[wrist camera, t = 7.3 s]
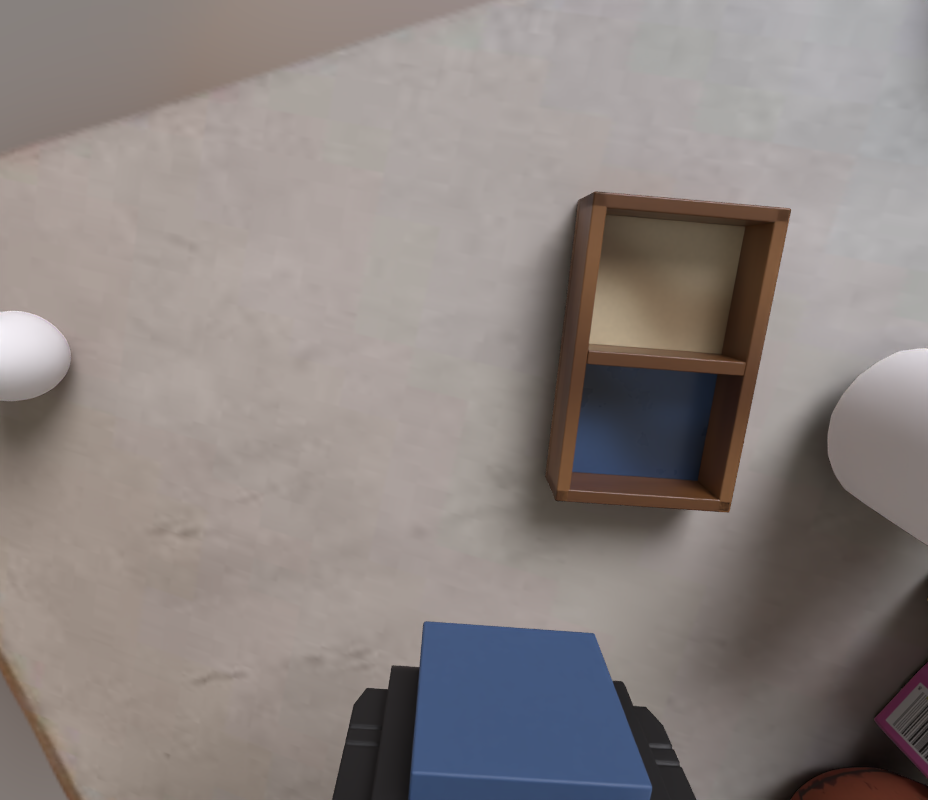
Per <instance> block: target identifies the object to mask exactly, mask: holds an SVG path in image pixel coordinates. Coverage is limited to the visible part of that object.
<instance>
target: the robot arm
mask: <svg viewBox="0 0 928 800" xmlns="http://www.w3.org/2000/svg"><path fill="white" fill-rule="evenodd" d="M419 668H420V667H409V666H394V665H392V668H391V674H390V680H389V687H388V689H374V688H366V690H365V691H364V692H363V694H362V695H361V696H360V697H359V699H358V700H357V701H356V702H355V704H354V706H353V710H352V715H351V719H350V724H349V728H348V732H347V737H346V742H345V746H344V750H343V754H342V759H341V763H340V768H339V772H338V776H337V781H336V785H335V790H334V794H333V798H332V800H408V795H409V783H410V771H411V760H412V748H413V737H414V725H415V714H416V702H417V691H418V679H419ZM612 682H613V684H614V687H615V690H616V692H617V695H618V698H619V700H620V703H621V706H622V708H623V711H624V713H625V716H626V719H627V721H628V724H629V727H630V729H631V732H632V735H633V737H634V740H635V742H636V745H637V748H638V750H639V753H640V756H641V758H642V761H643V764H644V766H645V769H646V771H647V774H648V777H649V779H650V782H651V785H652V793H651V797H650V800H696V798H695V796H694V793H693V791H692V789H691V787H690V785H689V782H688V780H687V778H686V776H685V774H684V771H683V769H682V767H680V765H679V763H680V762H679V760H678V758H677V756H676V754H675V751H674V750H672V745H671V743H670V740H669V738H668V736H667V734H666V731H665V729H664V727H663V725H662V724H661V723H660V722H659V721H658V720H657V718H656V717H655V716H654V715H653V714H652V713H651V712H650V711H649V710H648V709H647V708H646V707H639V706H633V704H632V702H631V699H630V697H629V694H628V692H627V689H626V687H625V685H624V683H623V682H621V681H612Z"/></svg>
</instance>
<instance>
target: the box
mask: <svg viewBox="0 0 928 800" xmlns="http://www.w3.org/2000/svg"><path fill="white" fill-rule="evenodd" d="M874 721H875V723H876V724H877V725H878V726H879V727H880V728H881V729H882V730H883V731H884V732H885V734H886V735H887V736H888V737H889V738H890V739H891V740H892V741H893V742H894V743H895V744H896V745H897V746H898V748H899V749H900V750H901V751H902V752H903V753H904V754H905V755H906V756H907V757H908V758H909V759H910V760H911V761H912V762H913V764H914V765H915V766H916V767H917V768H918V769H919V770H920V771H921V772H922V774H923V775H924V776H925V777H926V778H927V779H928V662H927V663H926V664H925V665H924V666H923V667H922V668H921V669H920V670H919V671H918V672H917V673H916V674H915V675H914V676H913V678H912V679H911V680H910V681H909V682H908V683H907V684H906V685H905V686H904V687H903V688H902V689H901V690H900V691H899V693H898V694H897V695H896V696H895V697H894V698H893V699H892V700H891V701H890V702H889V703H888V704H887V705H886V707H885V708H884V709H883V710H882V711H881V712H880V713H879V714H878V715H877V716H876V717H875V718H874Z"/></svg>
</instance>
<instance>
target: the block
mask: <svg viewBox="0 0 928 800" xmlns="http://www.w3.org/2000/svg"><path fill="white" fill-rule="evenodd" d="M651 793H652V785H651V782H650V779H649V777H648V774H647V771H646V769H645V766H644V764H643V761H642V758H641V756H640V753H639V750H638V748H637V745H636V742H635V740H634V737H633V735H632V732H631V729H630V727H629V724H628V721H627V719H626V716H625V713H624V711H623V708H622V706H621V703H620V700H619V698H618V695H617V692H616V690H615V687H614V684H613V682H612V679H611V676H610V674H609V671H608V669H607V666H606V663H605V661H604V658H603V655H602V653H601V650H600V647H599V645H598V642H597V640H596V637H595V634H593V633H582V632H568V631H554V630H540V629H526V628H512V627H498V626H484V625H470V624H456V623H442V622H427V621H426V622H424V624H423V633H422V645H421V656H420V668H419V679H418V691H417V702H416V714H415V725H414V737H413V748H412V760H411V771H410V783H409V795H408V800H650V797H651Z"/></svg>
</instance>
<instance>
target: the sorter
mask: <svg viewBox="0 0 928 800" xmlns="http://www.w3.org/2000/svg"><path fill="white" fill-rule="evenodd" d="M790 213H791V209H790V208H780V207H769V206H757V205H746V204H734V203H722V202H711V201H699V200H688V199H676V198H665V197H653V196H642V195H630V194H619V193H607V192H593V193H591V194H590V195H588V196H586V197H584V198H582V199H580V200H578V206H577V215H576V223H575V231H574V240H573V248H572V256H571V265H570V273H569V281H568V290H567V298H566V306H565V315H564V323H563V331H562V340H561V348H560V356H559V365H558V373H557V381H556V390H555V398H554V406H553V415H552V423H551V432H550V440H549V448H548V457H547V465H546V473H545V477H546V480H547V482H548V484H549V486H550V489H551V491H552V493H553V496H554V498H555V500H556V501H566V502H581V503H596V504H611V505H626V506H641V507H656V508H671V509H686V510H701V511H715V512H729V511H730V507H731V502H732V497H733V492H734V487H735V482H736V477H737V472H738V467H739V463H740V458H741V453H742V448H743V443H744V438H745V433H746V428H747V423H748V418H749V414H750V409H751V404H752V399H753V394H754V389H755V384H756V379H757V374H758V370H759V365H760V360H761V355H762V350H763V345H764V340H765V335H766V330H767V326H768V321H769V316H770V311H771V306H772V301H773V296H774V291H775V286H776V282H777V277H778V272H779V267H780V262H781V257H782V252H783V247H784V242H785V237H786V233H787V228H788V223H789V218H790Z"/></svg>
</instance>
